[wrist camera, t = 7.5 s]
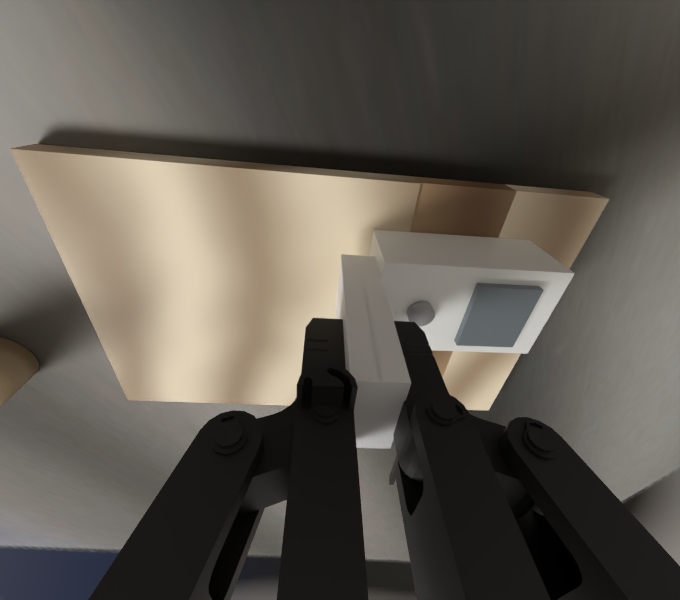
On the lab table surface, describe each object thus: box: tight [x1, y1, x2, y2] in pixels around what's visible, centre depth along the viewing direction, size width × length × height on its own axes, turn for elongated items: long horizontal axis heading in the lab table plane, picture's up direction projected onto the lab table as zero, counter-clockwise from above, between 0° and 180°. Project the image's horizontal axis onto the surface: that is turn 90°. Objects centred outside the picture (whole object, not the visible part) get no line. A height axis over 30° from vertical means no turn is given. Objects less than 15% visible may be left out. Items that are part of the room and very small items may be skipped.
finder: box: [369, 230, 575, 354], centre depth 13 cm, size 7×4×3 cm, turn 85°
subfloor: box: [10, 144, 609, 410], centre depth 16 cm, size 23×14×1 cm, turn 85°
